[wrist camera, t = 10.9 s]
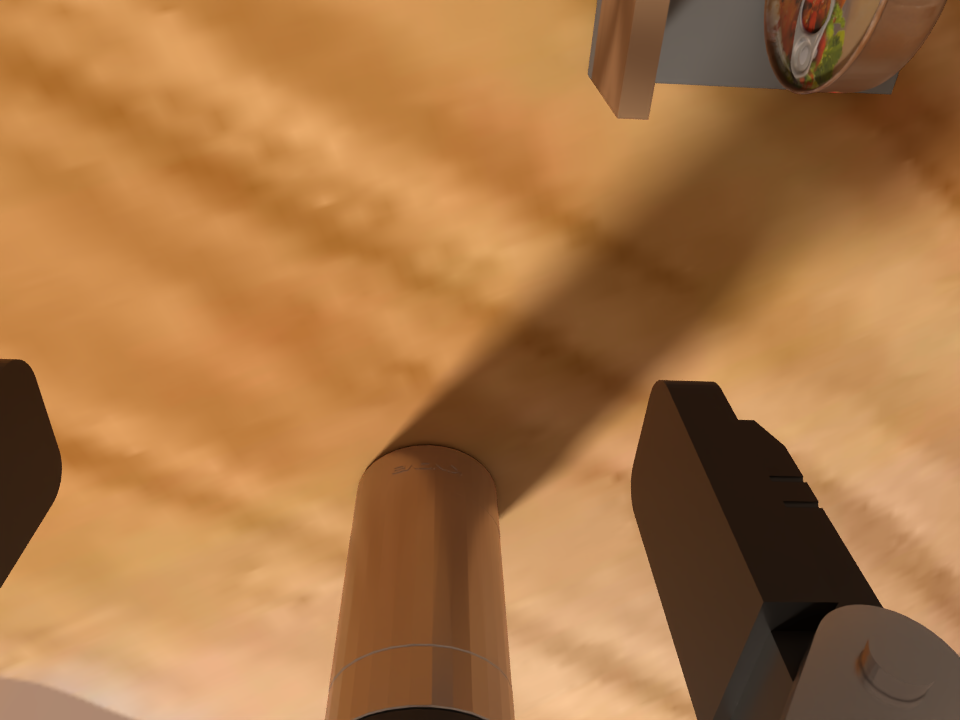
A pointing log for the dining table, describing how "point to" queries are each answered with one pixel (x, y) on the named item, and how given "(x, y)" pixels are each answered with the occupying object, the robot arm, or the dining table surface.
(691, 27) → the mat
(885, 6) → the tin
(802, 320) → the dining table surface
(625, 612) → the dining table surface
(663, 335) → the dining table surface
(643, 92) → the walls
